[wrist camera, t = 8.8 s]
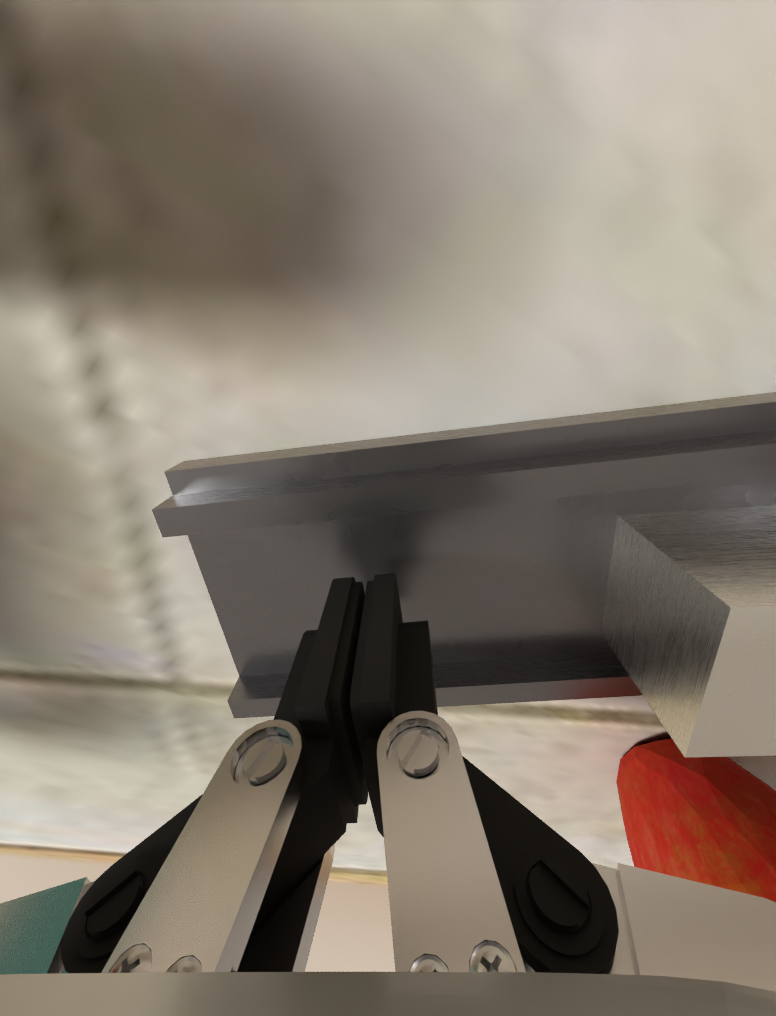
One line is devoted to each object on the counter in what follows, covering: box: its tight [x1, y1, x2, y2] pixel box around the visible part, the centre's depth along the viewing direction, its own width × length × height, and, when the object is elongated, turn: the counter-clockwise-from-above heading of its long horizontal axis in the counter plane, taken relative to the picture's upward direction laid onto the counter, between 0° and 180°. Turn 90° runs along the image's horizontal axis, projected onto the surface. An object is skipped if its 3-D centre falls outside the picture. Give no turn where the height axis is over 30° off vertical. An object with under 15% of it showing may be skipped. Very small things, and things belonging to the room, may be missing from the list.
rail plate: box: [152, 392, 776, 718], centre depth 11 cm, size 9×32×2 cm, turn 97°
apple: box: [617, 739, 776, 902], centre depth 12 cm, size 6×6×8 cm
